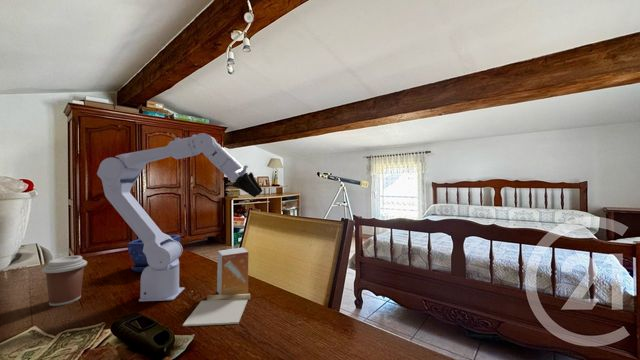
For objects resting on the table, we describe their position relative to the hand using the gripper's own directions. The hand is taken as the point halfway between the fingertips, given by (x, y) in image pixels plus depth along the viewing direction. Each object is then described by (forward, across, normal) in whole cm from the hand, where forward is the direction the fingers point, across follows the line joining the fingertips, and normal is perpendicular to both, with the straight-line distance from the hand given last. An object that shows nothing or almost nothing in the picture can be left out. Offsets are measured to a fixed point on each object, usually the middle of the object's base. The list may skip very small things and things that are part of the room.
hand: (259, 193), depth 80 cm
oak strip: (+16, -6, +27) cm, 32 cm away
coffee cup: (-18, -2, +60) cm, 63 cm away
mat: (+15, -13, +28) cm, 34 cm away
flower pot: (-10, +24, +53) cm, 59 cm away
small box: (+16, -1, +28) cm, 32 cm away
